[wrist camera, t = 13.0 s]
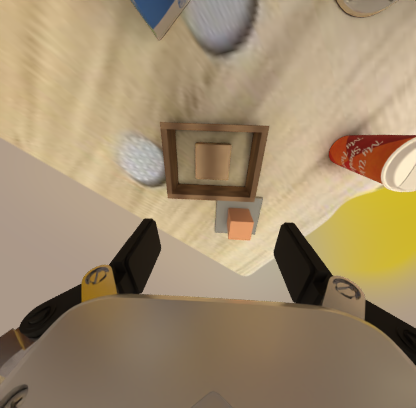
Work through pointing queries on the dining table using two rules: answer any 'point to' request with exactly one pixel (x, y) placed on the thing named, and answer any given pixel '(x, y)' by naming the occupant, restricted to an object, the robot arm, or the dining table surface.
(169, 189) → the crate
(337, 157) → the paper cup
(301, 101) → the dining table surface
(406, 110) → the dining table surface
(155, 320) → the robot arm
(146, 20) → the string lights box
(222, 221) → the pad
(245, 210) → the block
